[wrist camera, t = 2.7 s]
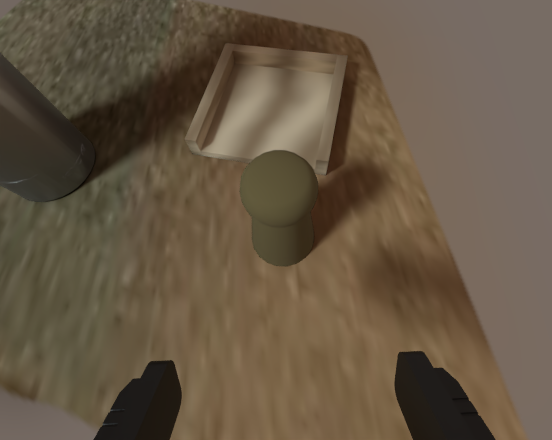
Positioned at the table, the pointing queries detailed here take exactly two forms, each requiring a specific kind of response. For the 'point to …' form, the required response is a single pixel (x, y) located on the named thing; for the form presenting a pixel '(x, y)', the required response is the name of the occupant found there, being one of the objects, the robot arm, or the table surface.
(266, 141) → the beige square tray
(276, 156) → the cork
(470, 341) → the table surface
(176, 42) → the table surface
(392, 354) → the table surface
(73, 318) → the table surface
